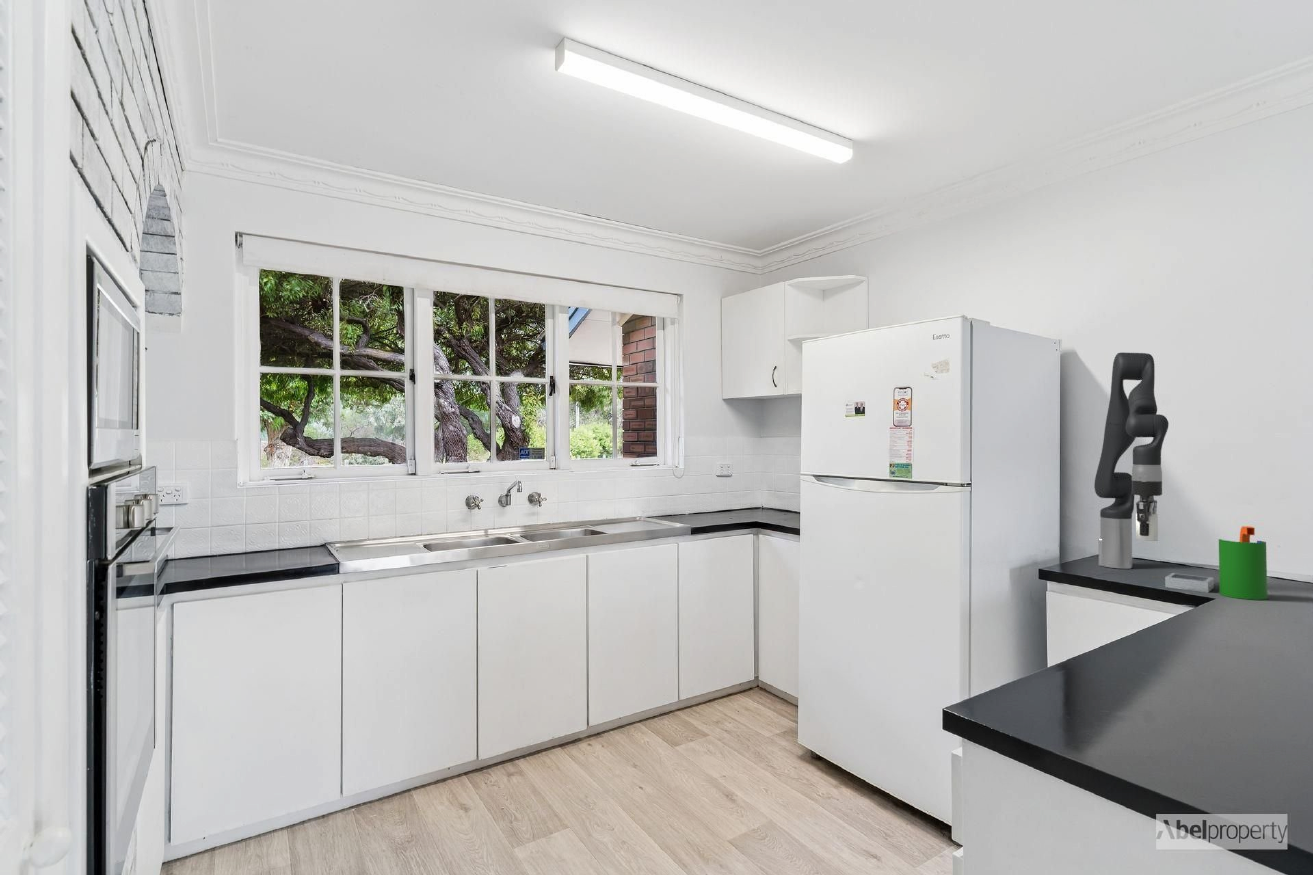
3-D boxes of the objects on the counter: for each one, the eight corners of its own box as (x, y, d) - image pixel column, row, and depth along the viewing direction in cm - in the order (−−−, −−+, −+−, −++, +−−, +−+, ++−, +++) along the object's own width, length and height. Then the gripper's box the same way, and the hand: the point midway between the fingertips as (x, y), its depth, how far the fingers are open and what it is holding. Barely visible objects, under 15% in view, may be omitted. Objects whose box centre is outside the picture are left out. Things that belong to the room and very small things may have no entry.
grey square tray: (1165, 587, 201) (1165, 577, 201) (1172, 582, 208) (1171, 572, 208) (1208, 592, 194) (1208, 582, 194) (1213, 587, 200) (1213, 577, 201)
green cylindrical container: (1251, 593, 193) (1251, 524, 193) (1277, 600, 184) (1276, 527, 184) (1213, 592, 194) (1213, 523, 194) (1237, 599, 185) (1236, 527, 185)
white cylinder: (1133, 539, 205) (1133, 510, 205) (1138, 537, 208) (1138, 509, 208) (1155, 541, 201) (1155, 511, 201) (1159, 539, 204) (1159, 510, 204)
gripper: (1138, 478, 212) (1138, 531, 212) (1125, 479, 202) (1125, 535, 202) (1167, 479, 207) (1167, 534, 206) (1156, 480, 197) (1156, 538, 197)
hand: (1146, 534), depth 204 cm, fingers closed on white cylinder, 5 cm apart
